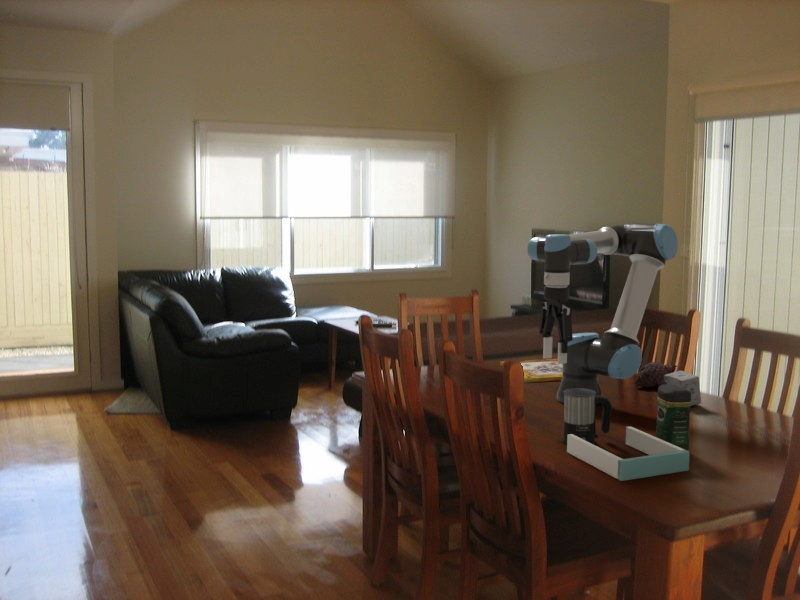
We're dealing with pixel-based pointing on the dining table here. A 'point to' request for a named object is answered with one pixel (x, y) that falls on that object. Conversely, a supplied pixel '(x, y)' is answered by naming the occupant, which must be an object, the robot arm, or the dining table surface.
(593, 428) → the milk frother
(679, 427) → the coffee jar
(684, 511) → the dining table surface
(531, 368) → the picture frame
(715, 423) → the dining table surface
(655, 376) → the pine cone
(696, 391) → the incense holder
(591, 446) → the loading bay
